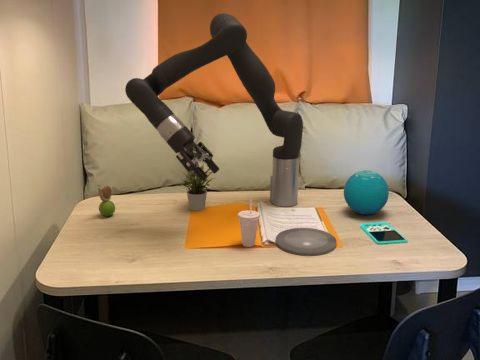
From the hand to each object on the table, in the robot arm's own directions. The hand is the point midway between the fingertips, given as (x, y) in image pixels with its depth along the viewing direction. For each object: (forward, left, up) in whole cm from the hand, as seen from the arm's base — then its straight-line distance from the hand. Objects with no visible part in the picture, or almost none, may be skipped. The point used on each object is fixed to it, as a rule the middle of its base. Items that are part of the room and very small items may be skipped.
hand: (211, 175), depth 163 cm
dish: (+20, +20, -20) cm, 35 cm away
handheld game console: (+30, +44, -21) cm, 57 cm away
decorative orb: (+15, +54, -20) cm, 60 cm away
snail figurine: (-38, -16, -20) cm, 46 cm away
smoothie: (+10, +6, -20) cm, 24 cm away
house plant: (-24, +13, -20) cm, 34 cm away
